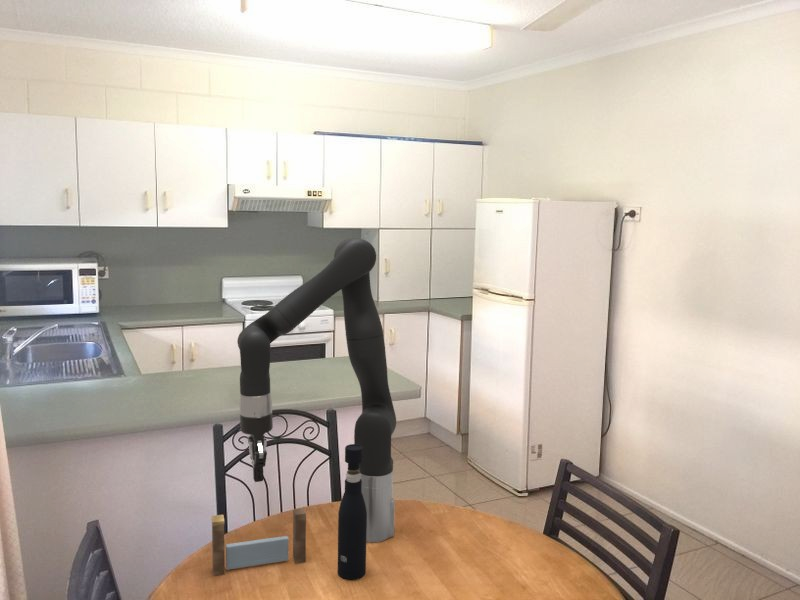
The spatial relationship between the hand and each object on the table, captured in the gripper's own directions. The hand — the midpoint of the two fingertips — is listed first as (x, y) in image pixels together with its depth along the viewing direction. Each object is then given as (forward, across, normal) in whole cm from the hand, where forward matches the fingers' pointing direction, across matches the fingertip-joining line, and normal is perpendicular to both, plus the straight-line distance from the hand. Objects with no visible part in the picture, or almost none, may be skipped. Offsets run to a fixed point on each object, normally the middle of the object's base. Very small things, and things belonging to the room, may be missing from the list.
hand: (258, 480), depth 163 cm
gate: (+16, +9, -2) cm, 19 cm away
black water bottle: (+18, +19, +18) cm, 31 cm away
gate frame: (+17, +9, -2) cm, 19 cm away
